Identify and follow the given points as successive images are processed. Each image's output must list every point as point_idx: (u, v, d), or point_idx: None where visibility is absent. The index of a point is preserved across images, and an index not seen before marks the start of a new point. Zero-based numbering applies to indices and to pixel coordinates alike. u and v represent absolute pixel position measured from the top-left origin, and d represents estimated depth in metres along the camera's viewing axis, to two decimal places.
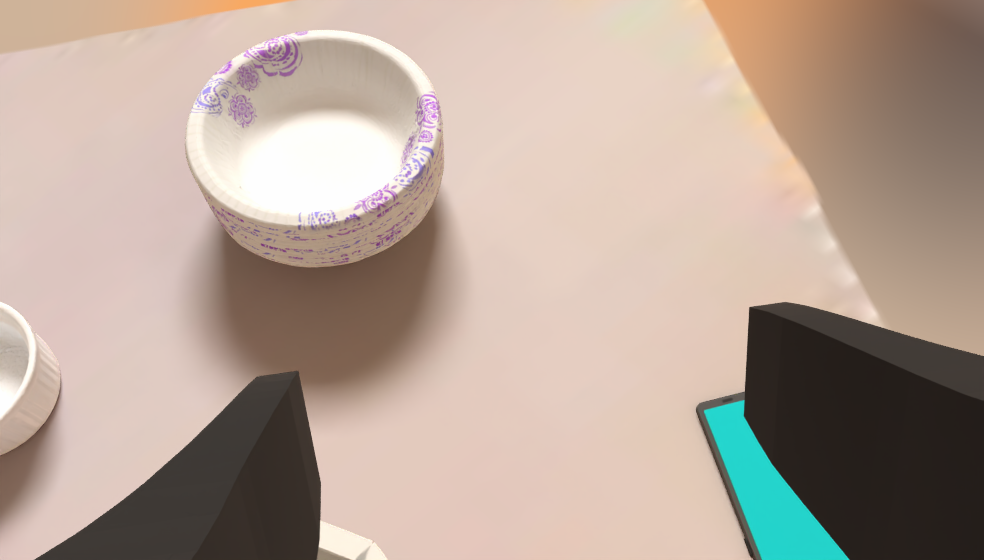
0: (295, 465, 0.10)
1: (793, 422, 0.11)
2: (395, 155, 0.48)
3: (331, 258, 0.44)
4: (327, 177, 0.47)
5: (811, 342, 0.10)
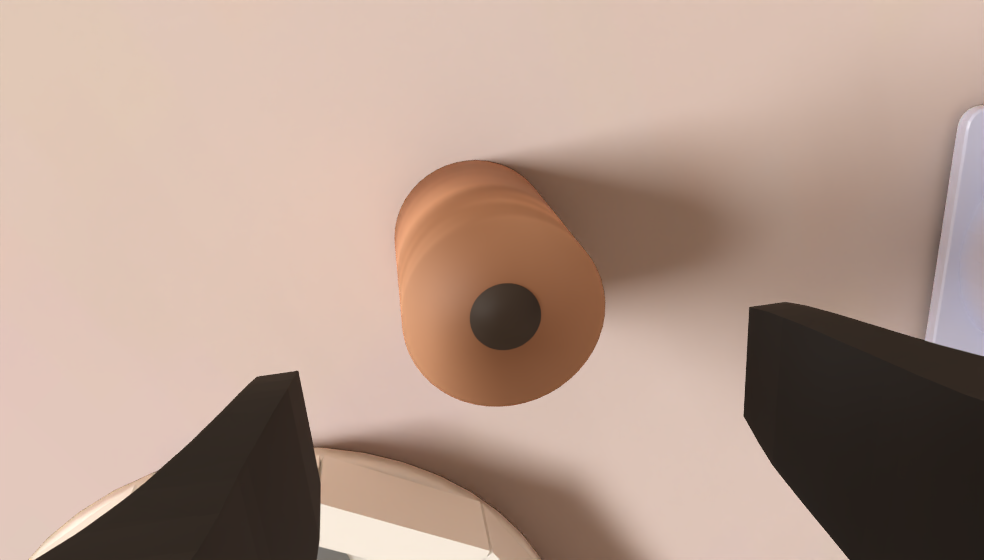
0: (295, 465, 0.10)
1: (794, 422, 0.11)
2: None
3: None
4: None
5: (811, 342, 0.10)
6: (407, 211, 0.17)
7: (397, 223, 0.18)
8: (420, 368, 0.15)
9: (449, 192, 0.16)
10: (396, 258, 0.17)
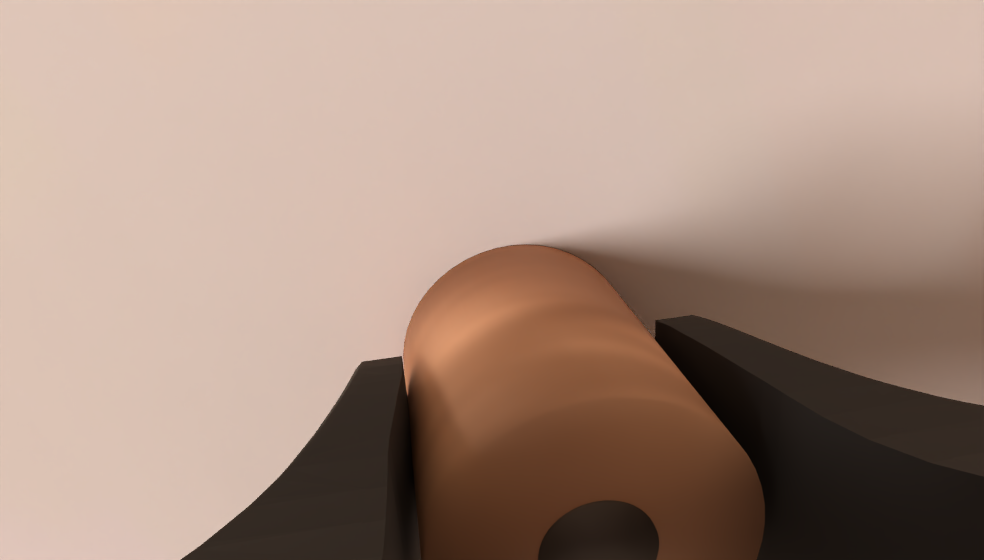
0: (409, 447, 0.10)
1: None
2: None
3: None
4: None
5: (703, 358, 0.10)
6: (424, 330, 0.11)
7: (408, 339, 0.12)
8: None
9: (492, 312, 0.10)
10: None
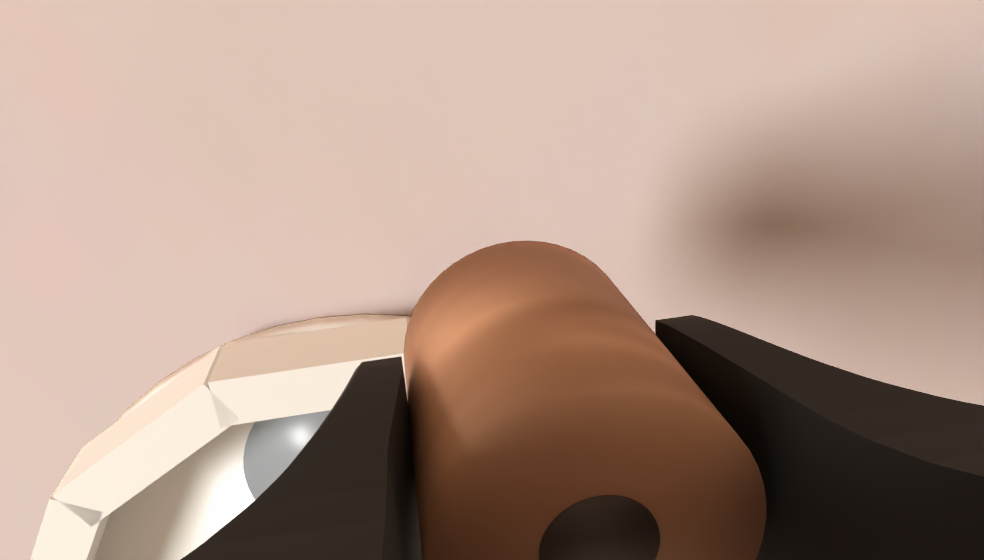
0: (409, 447, 0.10)
1: None
2: None
3: None
4: None
5: (703, 358, 0.10)
6: (425, 324, 0.11)
7: (408, 334, 0.12)
8: None
9: (494, 307, 0.10)
10: (407, 398, 0.11)
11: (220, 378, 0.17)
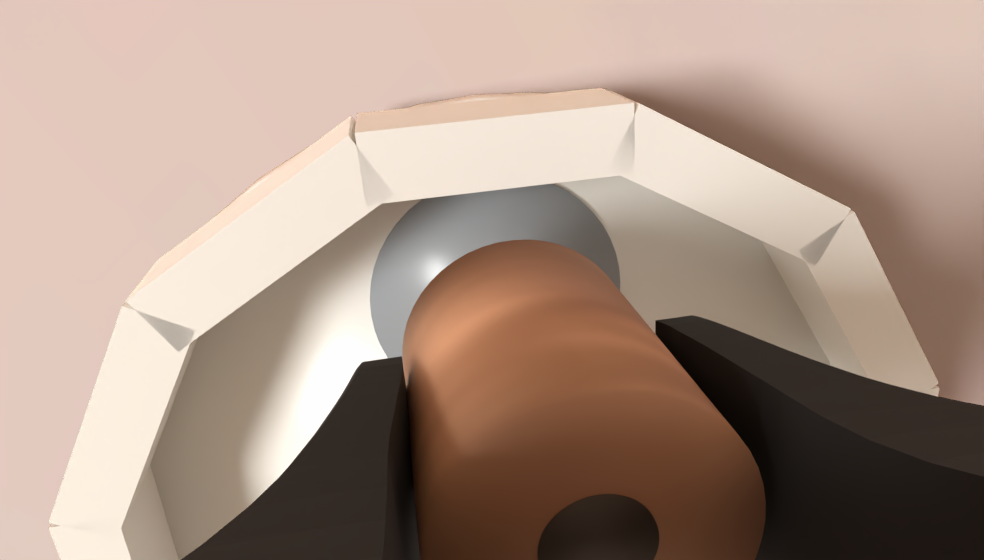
0: (409, 447, 0.10)
1: None
2: None
3: None
4: None
5: (703, 358, 0.10)
6: (425, 321, 0.11)
7: (407, 331, 0.12)
8: None
9: (495, 305, 0.10)
10: None
11: (371, 129, 0.12)
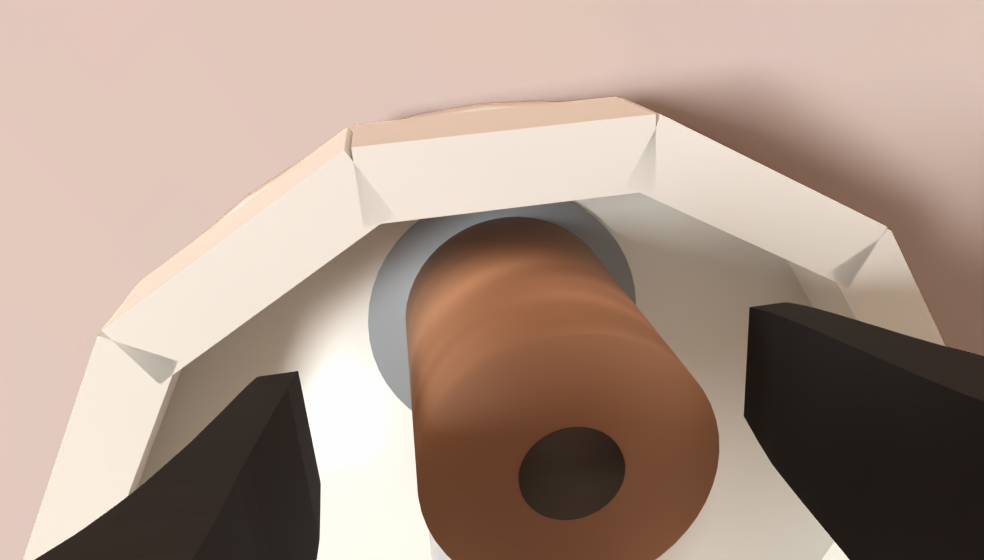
0: (295, 465, 0.10)
1: (794, 422, 0.11)
2: None
3: None
4: None
5: (811, 342, 0.10)
6: (424, 290, 0.13)
7: (409, 301, 0.14)
8: (443, 546, 0.10)
9: (484, 271, 0.11)
10: (408, 355, 0.13)
11: (369, 143, 0.11)
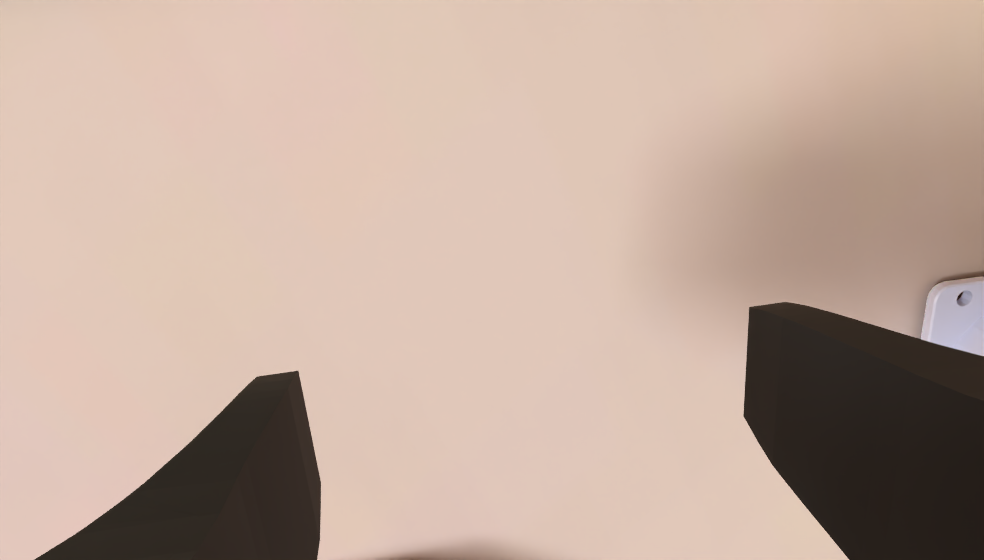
0: (295, 465, 0.10)
1: (794, 421, 0.11)
2: None
3: None
4: None
5: (811, 342, 0.10)
6: None
7: None
8: None
9: None
10: None
11: None
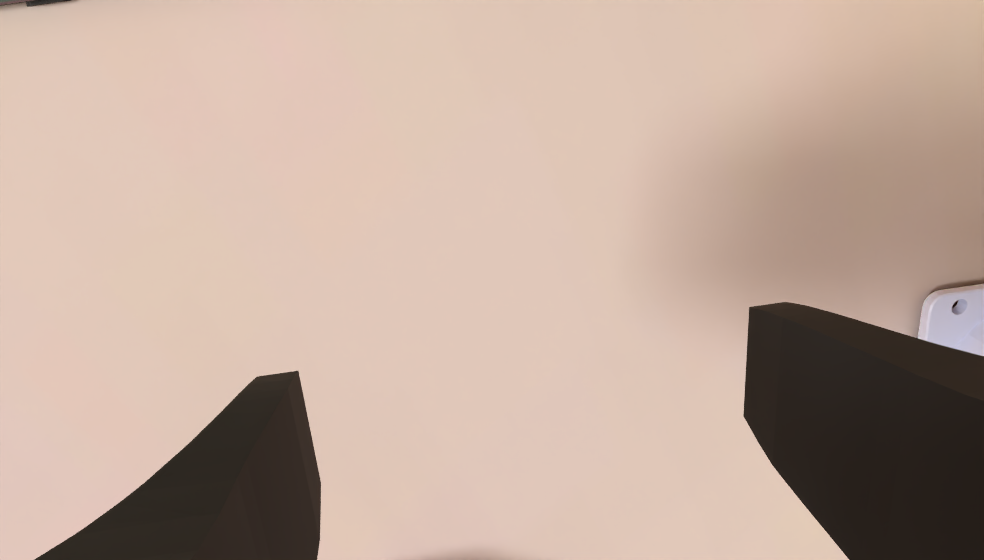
0: (295, 465, 0.10)
1: (794, 422, 0.11)
2: None
3: None
4: None
5: (811, 342, 0.10)
6: None
7: None
8: None
9: None
10: None
11: None
